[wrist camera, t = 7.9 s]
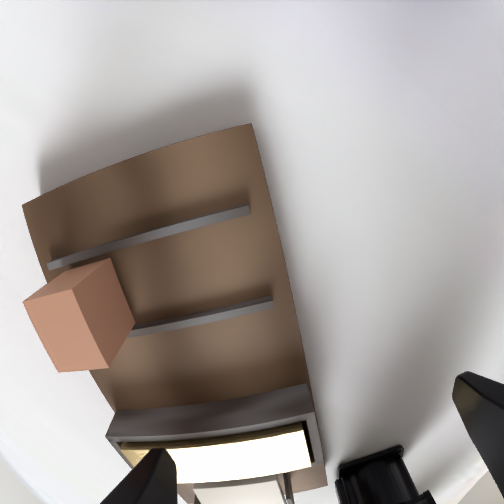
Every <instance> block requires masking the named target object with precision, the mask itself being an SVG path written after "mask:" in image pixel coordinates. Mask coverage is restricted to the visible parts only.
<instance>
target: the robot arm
mask: <svg viewBox="0 0 504 504" xmlns="http://www.w3.org/2000/svg"><path fill="white" fill-rule="evenodd" d="M452 398H453V401H454V403H455V405H456V408H457V410H458V412H459V414H460V416H461V418H462V421H463V423H464V425H465V427H466V430H467V432H468V434H469V436H470V438H471V440H472V441H473V443H474V445H475V446H476V448H477V450H478V452H479V453H480V455H481V457H482V459H483V460H484V462H485V464H486V466H487V468H488V469H489V471H490V473H491V475H492V477H493V479H494V480H495V482H496V484H497V486H498V488H499V490H500V492H501V494H502V496H503V498H504V384H502V383H499V382H496V381H493V380H491V379H488V378H485V377H483V376H480V375H477V374H475V373H472V372H469V371H466V372H463V373H461V374H459V375H458V376H457V377H456V379H455V383H454V388H453V393H452ZM403 451H404V448H403V446H402V445H400V446H397V447H394V448H391V449H389V450H386V451H383V452H381V453H378V454H375V455H372V456H369V457H366V458H363V459H360V460H357V461H353V462H350V463H347V464H343V465H341V466H339V467H338V478H339V479H337V480H336V481H335V488H336V494H337V498H338V502H339V504H436V502H435V501H434V499H433V497H432V495H431V493H430V492H429V490H427V491H425V492H423V494H421V495H419V494H418V491H417V489H416V487H415V485H414V483H413V481H412V478H411V476H410V474H409V472H408V470H407V468H406V466H405V464H404V461H403V459H402V456H403ZM100 504H177V466H176V463H175V461H174V460H173V458H172V457H171V455H170V454H169V453H168V451H167V450H166V449H165V448H152V449H150V450H149V452H148V453H147V454H146V455H145V456H144V457H143V458H142V459H141V460H140V461H139V463H138V464H137V465H136V466H135V467H134V468H133V469H132V470H131V471H130V472H129V473H128V475H127V476H126V477H125V478H124V479H123V480H122V481H121V482H120V483H119V484H118V485H117V486H116V487H115V488H114V489H113V491H112V492H111V493H110V494H109V495H108V496H107V497H106V498H105V499H104V500H103V501H102V502H101V503H100Z"/></svg>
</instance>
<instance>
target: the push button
mask: <svg viewBox="0 0 504 504" xmlns="http://www.w3.org/2000/svg"><path fill="white" fill-rule="evenodd" d="M152 448H165V449H166V450H167V451H168V453H169V454H170V455H171V457H172V458H173V460H174V461H175V463H176V466H177V483H196V482H212V481H225V480H235V479H243V478H251V477H258V476H265V475H271V474H277V473H282V472H287V471H292V470H297V469H302V468H306V467H311V463H310V458H309V454H308V449H307V444H306V440H305V436H304V431H303V427H302V423H301V421H299V422H295V423H291V424H286V425H281V426H276V427H271V428H266V429H261V430H255V431H249V432H243V433H237V434H230V435H222V436H214V437H205V438H195V439H184V440H169V441H145V442H122V445H121V448H120V451H121V452H122V453H123V454H124V456H125V457H126V458H127V459H128V460H129V462H130V463H131V464H132V465H133V466H134V467H135V466H136V465H137V464H138V463H139V461H140V460H141V459H142V458H143V457H144V456H145V455H146V454H147V453H148V452H149V450H150V449H152Z"/></svg>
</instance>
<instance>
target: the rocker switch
mask: <svg viewBox="0 0 504 504" xmlns="http://www.w3.org/2000/svg"><path fill="white" fill-rule="evenodd" d="M193 490H194V492H195V494H196V496H197V498H198V499H199V501H200V503H201V504H287V502H286V499H285V496H284V493H283V490H282V487H281V484H280V481H279V478H278V475H277V474H274V475H268V476H261V477H254V478H247V479H239V480H229V481H218V482H204V483H194V486H193Z"/></svg>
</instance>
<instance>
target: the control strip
mask: <svg viewBox="0 0 504 504" xmlns="http://www.w3.org/2000/svg"><path fill="white" fill-rule="evenodd" d="M22 208H23V212H24V215H25V219H26V222H27V226H28V229H29V232H30V236H31V239H32V242H33V245H34V248H35V251H36V254H37V257H38V260H39V263H40V265H41V268H42V271H43V273H44V276H45V279H46V281H47V283H49V282H50V281H52V280H53V279H54V278H56V277H57V276H59V275H60V274H61V273H63V272H64V271H66V270H70V269H73V268H77V267H80V266H83V265H87V264H90V263H94V262H97V261H101V260H104V259H108V258H111V261H112V264H113V267H114V269H115V272H116V275H117V278H118V280H119V283H120V285H121V288H122V291H123V293H124V296H125V298H126V301H127V303H128V306H129V308H130V311H131V313H132V315H133V318H134V320H135V324H134V326H133V328H132V329H131V331H130V333H129V334H128V336H127V338H126V339H125V341H124V343H123V344H122V346H121V348H120V350H119V351H118V353H117V355H116V356H115V358H114V360H113V362H112V363H111V365H110V367H109V368H103V369H93V370H89V371H90V373H91V375H92V377H93V378H94V380H95V382H96V383H97V385H98V387H99V388H100V390H101V392H102V393H103V395H104V397H105V398H106V400H107V401H108V403H109V404H110V406H111V408H112V409H113V411H114V412H115V415H114V417H113V419H112V422H111V424H110V426H109V429H108V431H107V433H106V436H105V437H106V438H107V439H108V441H109V442H110V443H111V445H112V446H113V447H114V448H115V450H116V451H117V452H118V453H119V454H120V456H121V457H122V458H123V459H124V460H125V462H126V463H127V464H128V465H129V466H130V467H131V469H133V468H134V466H133V465H132V464H131V463H130V462H129V460H128V459H127V458H126V457H125V456H124V454H123V453H122V452H121V451H120V448H121V445H122V442H145V441H169V440H184V439H195V438H205V437H214V436H222V435H230V434H237V433H243V432H249V431H255V430H261V429H266V428H271V427H276V426H281V425H286V424H291V423H295V422H299V421H301V423H302V427H303V431H304V436H305V440H306V444H307V449H308V454H309V458H310V463H311V467H306V468H302V469H297V470H292V471H287V472H282V473H277V475H278V478H279V481H280V484H281V487H282V490H283V493H284V495H286V500H287V502H288V504H294V498H293V493H297V492H302V491H307V490H311V489H316V488H320V487H324V486H328V484H327V477H326V471H325V465H324V459H323V453H322V447H321V442H320V436H319V430H318V425H317V419H316V414H315V408H314V403H313V397H312V392H311V387H310V381H309V376H308V371H307V366H306V361H305V356H304V351H303V346H302V341H301V336H300V331H299V326H298V321H297V316H296V312H295V307H294V302H293V297H292V293H291V288H290V283H289V279H288V274H287V270H286V265H285V261H284V256H283V252H282V247H281V243H280V238H279V234H278V230H277V225H276V221H275V217H274V212H273V208H272V204H271V200H270V195H269V191H268V187H267V183H266V179H265V175H264V171H263V166H262V162H261V158H260V154H259V150H258V146H257V142H256V138H255V134H254V130H253V127H252V123H250V124H246V125H242V126H237V127H233V128H229V129H225V130H221V131H218V132H214V133H210V134H206V135H203V136H199V137H196V138H192V139H189V140H185V141H182V142H179V143H175V144H172V145H169V146H166V147H163V148H160V149H157V150H154V151H151V152H148V153H145V154H142V155H139V156H136V157H133V158H130V159H128V160H125V161H122V162H119V163H117V164H114V165H111V166H109V167H106V168H104V169H101V170H99V171H96V172H94V173H91V174H89V175H86V176H84V177H81V178H79V179H77V180H74V181H72V182H70V183H67V184H65V185H63V186H61V187H58V188H56V189H54V190H52V191H50V192H48V193H45V194H43V195H41V196H39V197H37V198H35V199H33V200H31V201H29V202H27V203H25V204H23V205H22ZM271 475H274V474H271ZM265 476H268V475H265ZM258 477H261V476H258ZM251 478H254V477H251ZM243 479H247V478H243ZM235 480H239V479H235ZM225 481H229V480H225ZM212 482H218V481H212ZM196 483H204V482H196ZM193 486H194V483H177V493H178V494H179V495H180V496H181V497H182V498H183V499H184V500H185V501H186V502H187V503H188V504H201V503H200V501H199V499H198V498H197V496H196V494H195V492H194V490H193Z"/></svg>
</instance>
